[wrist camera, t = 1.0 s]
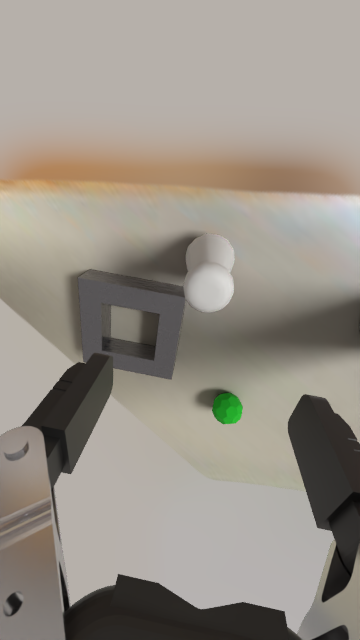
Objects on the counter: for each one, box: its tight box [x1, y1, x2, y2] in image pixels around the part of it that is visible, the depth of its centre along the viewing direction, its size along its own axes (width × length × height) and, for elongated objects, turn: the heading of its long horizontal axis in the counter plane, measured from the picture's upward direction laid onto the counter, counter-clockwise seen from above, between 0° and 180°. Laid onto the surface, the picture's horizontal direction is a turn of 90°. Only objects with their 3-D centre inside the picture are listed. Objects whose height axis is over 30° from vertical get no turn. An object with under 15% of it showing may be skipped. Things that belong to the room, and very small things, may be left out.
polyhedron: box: [212, 393, 243, 424], centre depth 40 cm, size 5×5×5 cm
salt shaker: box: [183, 233, 235, 313], centre depth 25 cm, size 6×6×13 cm
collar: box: [78, 269, 186, 379], centre depth 36 cm, size 14×14×4 cm
